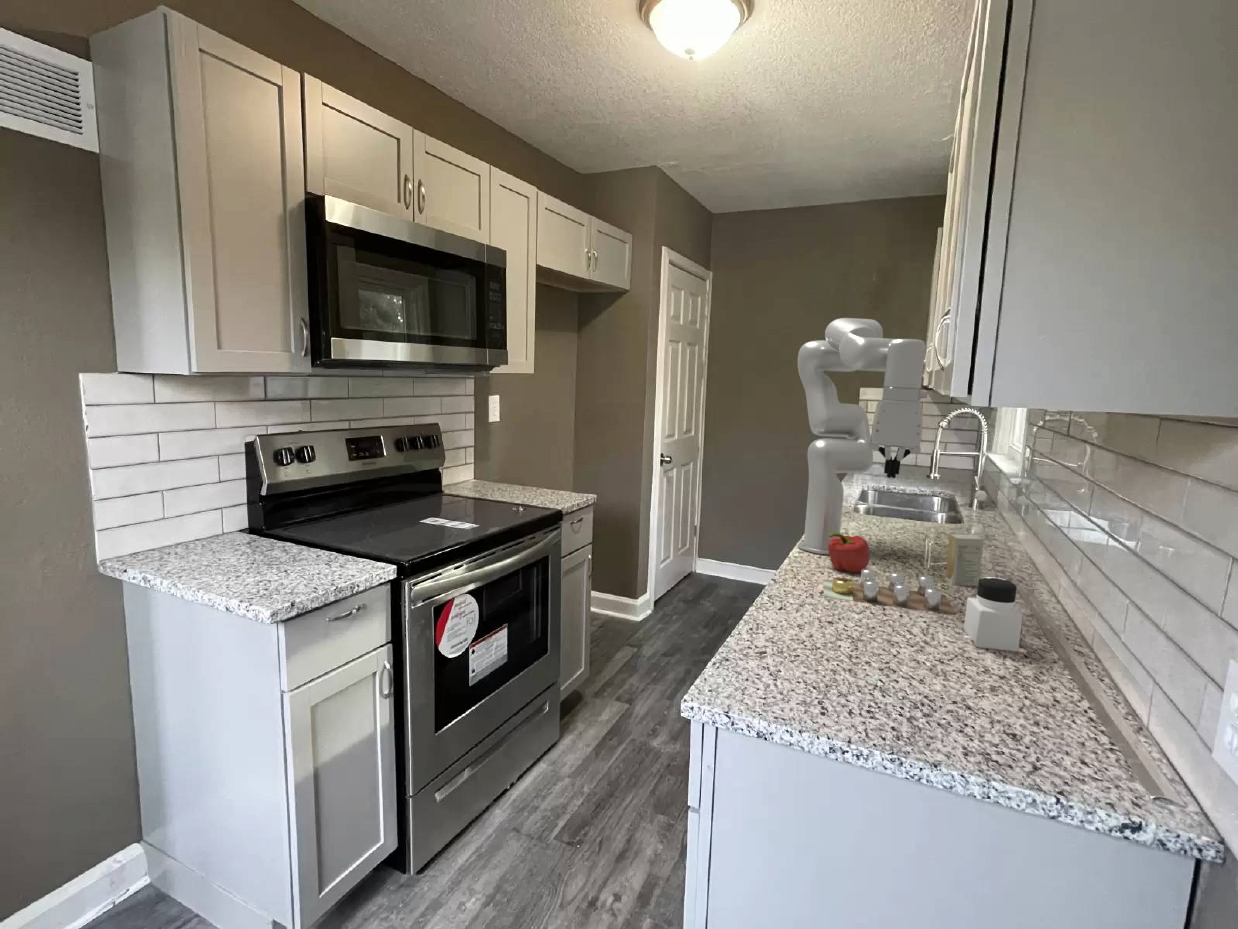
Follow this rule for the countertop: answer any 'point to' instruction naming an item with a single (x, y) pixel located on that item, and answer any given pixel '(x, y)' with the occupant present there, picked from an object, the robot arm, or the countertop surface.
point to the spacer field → (900, 589)
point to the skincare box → (964, 559)
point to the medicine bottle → (994, 616)
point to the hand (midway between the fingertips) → (890, 476)
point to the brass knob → (842, 586)
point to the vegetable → (848, 553)
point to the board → (888, 598)
